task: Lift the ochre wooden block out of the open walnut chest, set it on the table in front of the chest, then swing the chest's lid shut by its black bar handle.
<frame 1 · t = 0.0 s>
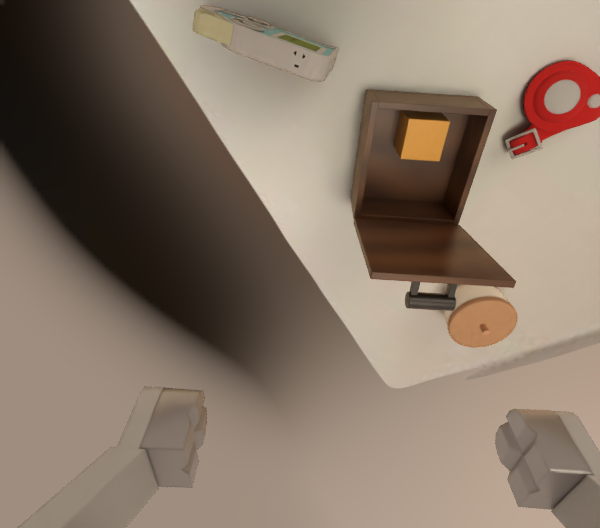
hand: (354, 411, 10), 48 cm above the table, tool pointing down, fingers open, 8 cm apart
chest: (409, 152, 55), on the table
handheld gaming console: (274, 36, 47), on the table
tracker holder: (542, 107, 51), on the table
trinket box: (467, 293, 70), on the table
lid: (418, 263, 48), point 15 cm above the table, hinge at 80.0°
block: (416, 128, 52), point 1 cm above the table, touching chest
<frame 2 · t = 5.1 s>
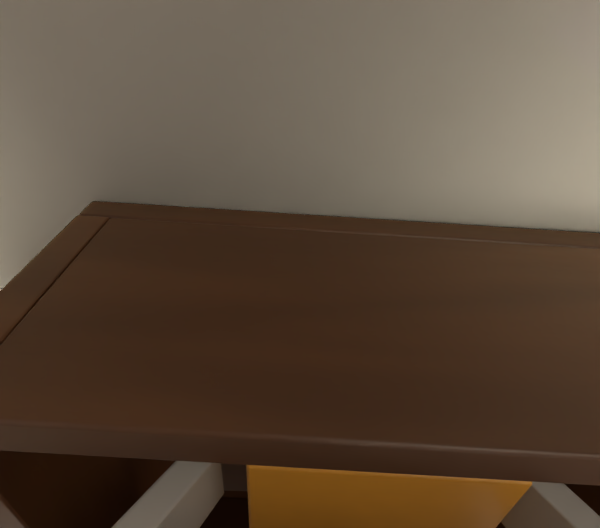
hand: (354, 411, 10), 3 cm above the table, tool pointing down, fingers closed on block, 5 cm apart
chest: (336, 396, 15), on the table
block: (350, 350, 12), point 1 cm above the table, touching chest, gripper
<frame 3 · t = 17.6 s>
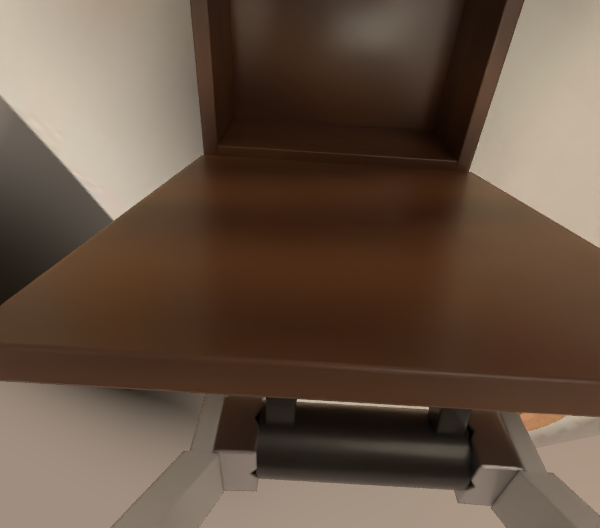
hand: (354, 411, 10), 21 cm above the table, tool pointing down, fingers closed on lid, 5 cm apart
trinket box: (481, 325, 37), on the table
lid: (345, 274, 15), point 15 cm above the table, hinge at 80.0°, touching gripper
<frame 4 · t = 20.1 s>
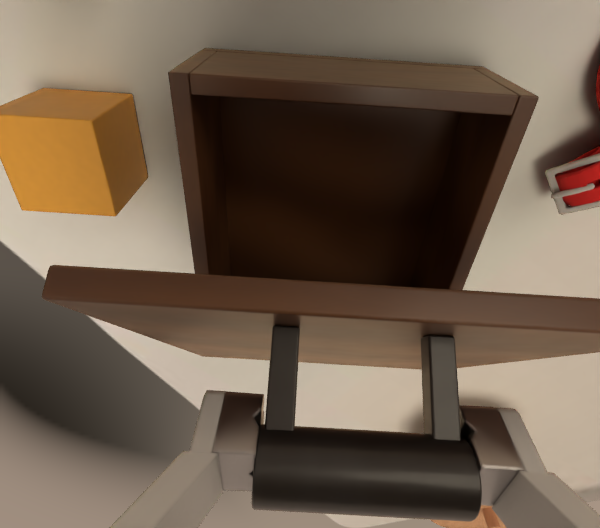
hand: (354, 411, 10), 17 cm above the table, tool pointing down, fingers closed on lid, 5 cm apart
chest: (329, 193, 25), on the table
trinket box: (460, 423, 40), on the table
lid: (334, 395, 16), point 13 cm above the table, hinge at 35.8°, touching gripper
block: (99, 135, 23), on the table
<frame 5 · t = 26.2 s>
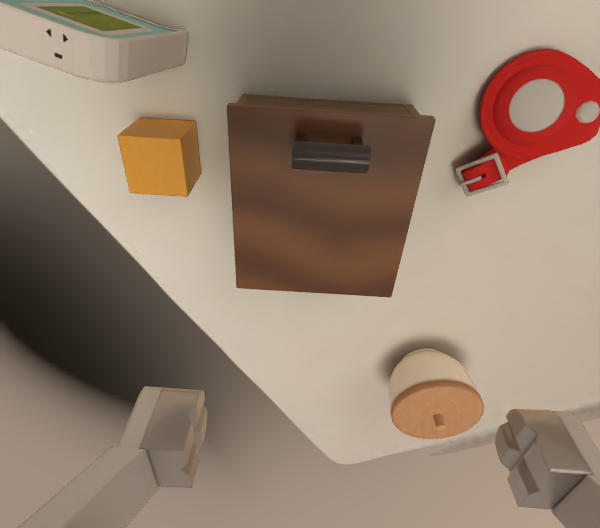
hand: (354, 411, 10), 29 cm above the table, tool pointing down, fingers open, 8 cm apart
chest: (320, 184, 38), on the table
handheld gaming console: (86, 12, 30), on the table
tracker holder: (509, 120, 34), on the table
trinket box: (422, 362, 53), on the table
lid: (321, 226, 31), point 9 cm above the table, hinge at -0.2°
block: (171, 146, 36), on the table
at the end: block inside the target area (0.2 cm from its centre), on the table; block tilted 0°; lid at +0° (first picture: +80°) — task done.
